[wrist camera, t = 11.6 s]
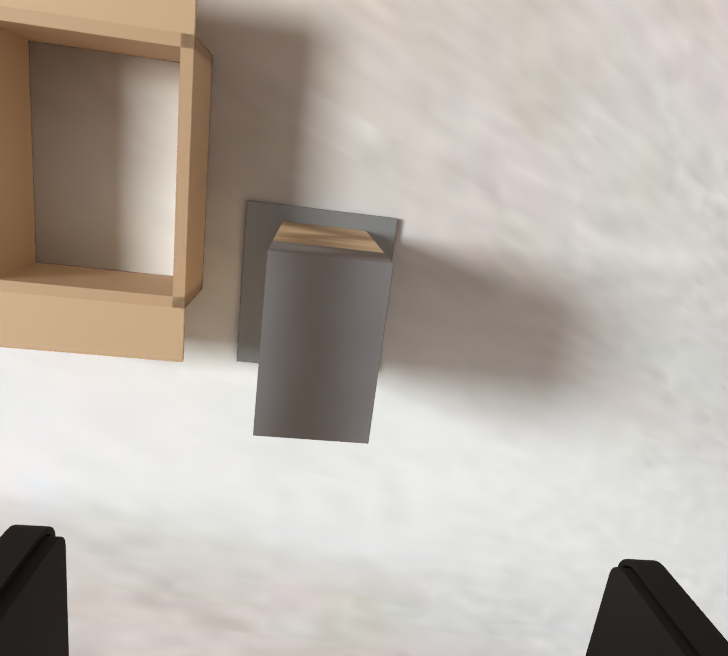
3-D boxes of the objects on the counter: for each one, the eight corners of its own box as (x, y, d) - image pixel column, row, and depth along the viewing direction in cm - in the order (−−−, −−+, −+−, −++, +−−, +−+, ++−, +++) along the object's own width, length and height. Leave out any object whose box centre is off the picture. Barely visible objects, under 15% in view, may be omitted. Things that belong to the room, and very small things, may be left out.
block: (365, 230, 34) (393, 263, 22) (350, 355, 36) (368, 443, 25) (283, 221, 33) (267, 249, 22) (272, 348, 35) (253, 435, 24)
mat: (396, 218, 34) (397, 218, 34) (375, 371, 37) (376, 372, 36) (247, 200, 33) (247, 201, 33) (237, 359, 36) (236, 361, 35)
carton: (215, -6, 30) (196, -39, 25) (199, 335, 35) (182, 362, 30) (13, -38, 29) (-47, -79, 24) (27, 320, 34) (-19, 345, 29)
